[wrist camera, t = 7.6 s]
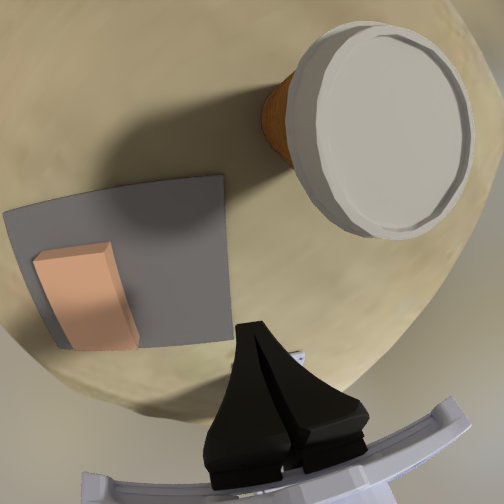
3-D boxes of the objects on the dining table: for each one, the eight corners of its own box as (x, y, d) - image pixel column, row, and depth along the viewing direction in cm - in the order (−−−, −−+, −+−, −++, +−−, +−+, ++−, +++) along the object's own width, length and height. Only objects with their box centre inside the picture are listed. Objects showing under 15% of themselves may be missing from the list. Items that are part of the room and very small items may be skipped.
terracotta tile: (137, 349, 22) (74, 350, 21) (140, 334, 24) (79, 336, 23) (103, 252, 17) (32, 261, 16) (111, 239, 19) (43, 249, 18)
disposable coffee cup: (266, 199, 21) (340, 289, 10) (217, 83, 16) (251, 29, 5) (367, 157, 20) (482, 205, 10) (334, 50, 16) (452, 20, 5)
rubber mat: (233, 336, 27) (233, 339, 26) (60, 346, 23) (59, 348, 23) (222, 174, 19) (223, 175, 19) (4, 211, 16) (2, 213, 15)
